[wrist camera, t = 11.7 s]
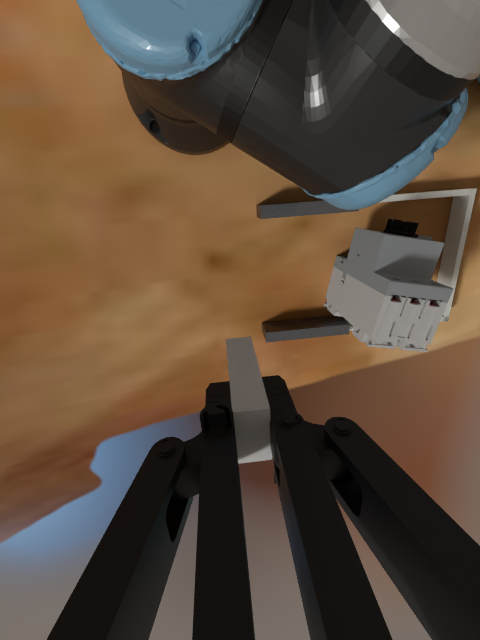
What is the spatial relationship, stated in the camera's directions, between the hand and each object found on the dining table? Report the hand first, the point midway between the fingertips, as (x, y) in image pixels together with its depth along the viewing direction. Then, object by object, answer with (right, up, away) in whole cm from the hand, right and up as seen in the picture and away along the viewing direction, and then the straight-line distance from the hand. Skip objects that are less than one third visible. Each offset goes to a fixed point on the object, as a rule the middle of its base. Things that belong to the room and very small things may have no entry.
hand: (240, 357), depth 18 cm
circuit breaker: (+18, +11, +28) cm, 35 cm away
